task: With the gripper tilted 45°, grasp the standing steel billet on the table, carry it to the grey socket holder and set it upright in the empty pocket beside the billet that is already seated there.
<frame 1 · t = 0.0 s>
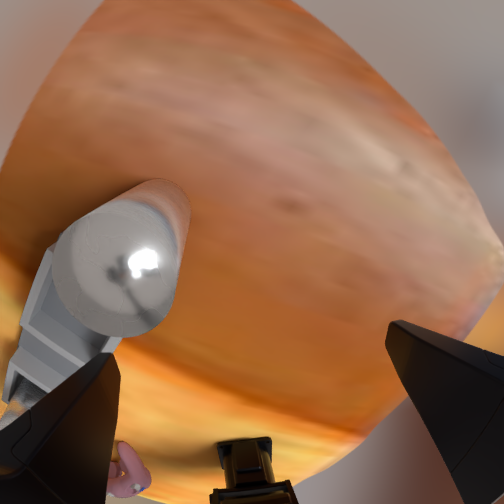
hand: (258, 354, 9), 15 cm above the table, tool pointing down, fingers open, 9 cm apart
grey socket holder: (62, 347, 24), on the table
billet: (157, 212, 21), on the table
video game controller: (118, 456, 31), on the table
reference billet: (43, 388, 24), resting on grey socket holder
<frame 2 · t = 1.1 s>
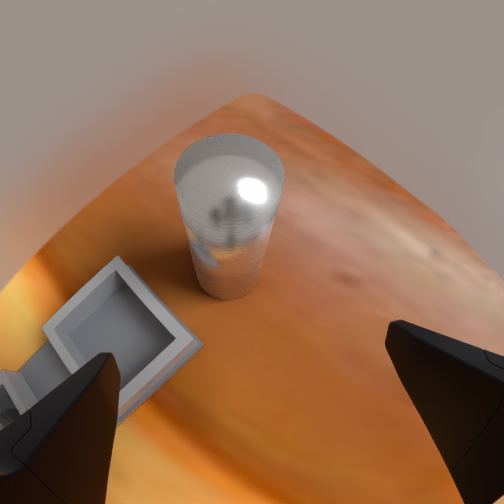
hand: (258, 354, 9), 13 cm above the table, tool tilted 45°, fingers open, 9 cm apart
grey socket holder: (70, 395, 19), on the table
billet: (227, 270, 24), on the table
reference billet: (21, 437, 15), resting on grey socket holder
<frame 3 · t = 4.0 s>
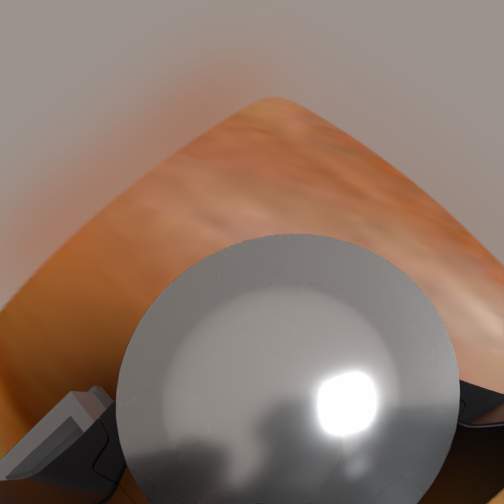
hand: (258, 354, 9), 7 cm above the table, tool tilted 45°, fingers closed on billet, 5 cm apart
billet: (249, 395, 14), on the table, touching gripper
when the fingers open (9 cm above the table, at t = 7.9 s): billet drops 1 cm, resting on grey socket holder.
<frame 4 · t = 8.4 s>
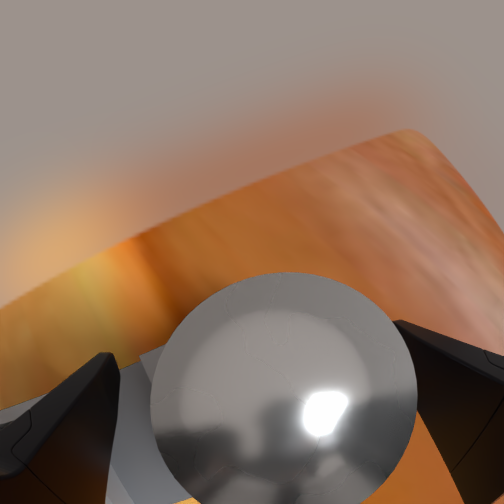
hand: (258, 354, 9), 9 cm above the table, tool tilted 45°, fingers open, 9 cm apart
grey socket holder: (146, 438, 15), on the table
billet: (247, 396, 15), point 1 cm above the table, touching grey socket holder
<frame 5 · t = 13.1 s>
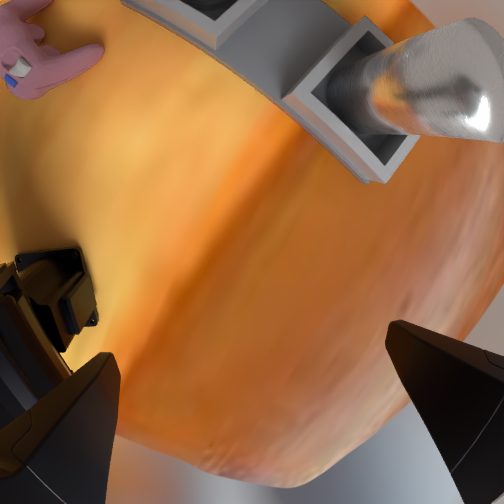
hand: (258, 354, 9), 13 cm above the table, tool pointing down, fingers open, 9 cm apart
grey socket holder: (283, 39, 17), on the table
billet: (359, 99, 18), point 1 cm above the table, touching grey socket holder
video game controller: (52, 46, 15), on the table
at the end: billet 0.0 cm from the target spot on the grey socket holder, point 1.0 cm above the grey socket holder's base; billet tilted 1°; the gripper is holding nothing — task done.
